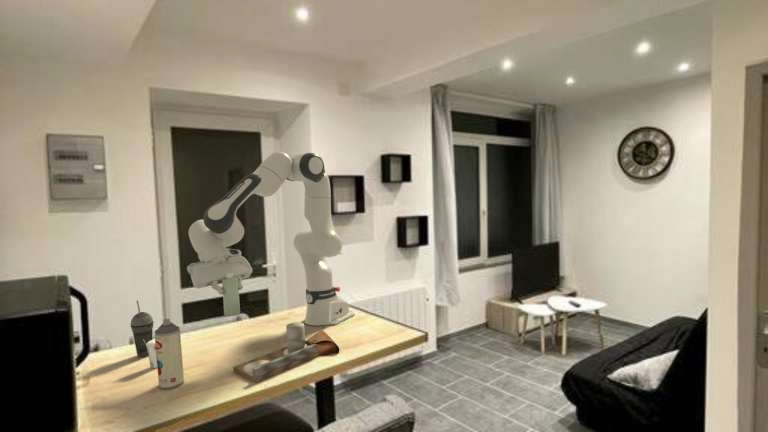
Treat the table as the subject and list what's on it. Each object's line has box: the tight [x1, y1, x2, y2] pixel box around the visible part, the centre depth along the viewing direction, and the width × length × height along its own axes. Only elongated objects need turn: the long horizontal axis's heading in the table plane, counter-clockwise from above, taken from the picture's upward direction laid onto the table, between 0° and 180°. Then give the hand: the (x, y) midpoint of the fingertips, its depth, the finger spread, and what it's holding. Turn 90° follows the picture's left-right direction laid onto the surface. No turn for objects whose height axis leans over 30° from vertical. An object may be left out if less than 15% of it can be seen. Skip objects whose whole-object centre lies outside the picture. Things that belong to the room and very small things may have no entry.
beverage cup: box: [130, 300, 155, 359], centre depth 151 cm, size 7×7×20 cm
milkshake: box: [144, 338, 157, 370], centre depth 141 cm, size 4×5×10 cm
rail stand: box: [232, 321, 318, 383], centre depth 140 cm, size 24×13×11 cm, turn 139°
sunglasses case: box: [305, 329, 340, 358], centre depth 154 cm, size 18×7×7 cm, turn 26°
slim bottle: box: [221, 272, 241, 317], centre depth 142 cm, size 5×5×14 cm
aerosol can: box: [154, 318, 185, 391], centre depth 127 cm, size 7×7×20 cm
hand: (231, 291), depth 142 cm, fingers closed on slim bottle, 5 cm apart
